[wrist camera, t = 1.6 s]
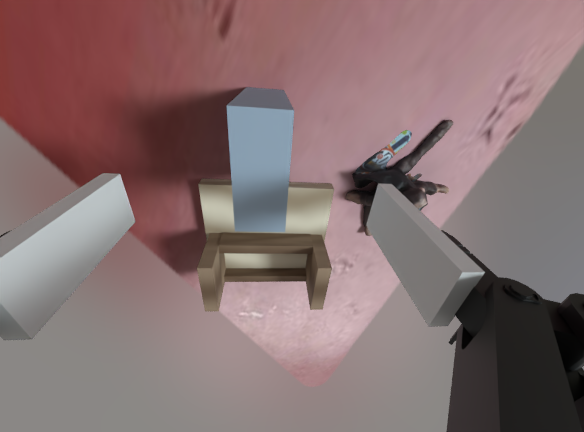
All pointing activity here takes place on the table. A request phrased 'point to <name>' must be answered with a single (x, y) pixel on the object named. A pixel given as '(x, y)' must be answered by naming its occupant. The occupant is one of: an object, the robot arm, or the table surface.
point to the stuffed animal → (397, 172)
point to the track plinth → (265, 243)
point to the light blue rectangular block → (260, 158)
